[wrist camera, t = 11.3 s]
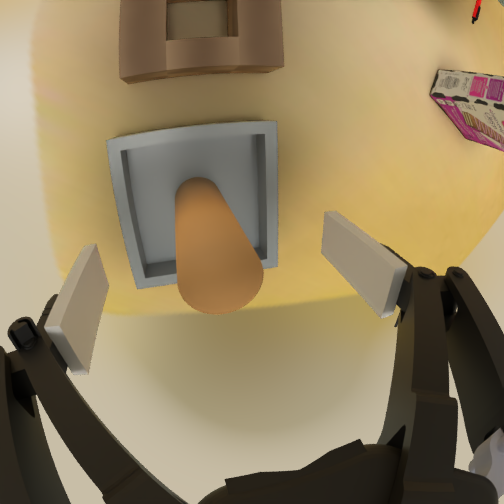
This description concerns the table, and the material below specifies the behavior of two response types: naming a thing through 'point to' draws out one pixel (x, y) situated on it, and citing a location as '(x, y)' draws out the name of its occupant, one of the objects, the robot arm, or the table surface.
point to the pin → (212, 251)
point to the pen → (476, 11)
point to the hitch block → (199, 42)
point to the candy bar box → (473, 104)
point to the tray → (183, 168)
